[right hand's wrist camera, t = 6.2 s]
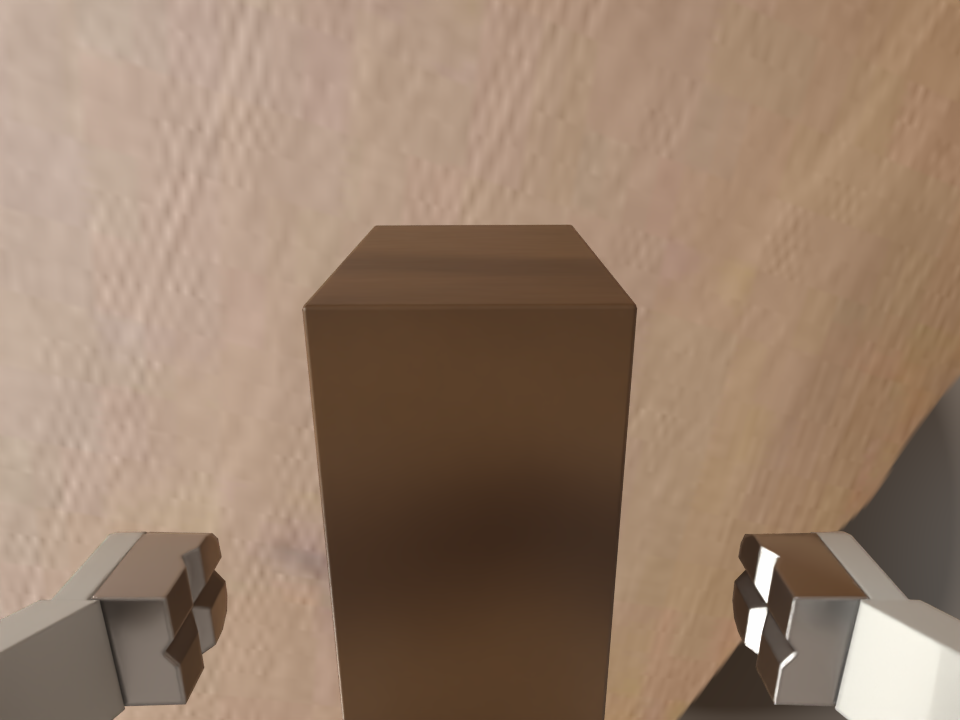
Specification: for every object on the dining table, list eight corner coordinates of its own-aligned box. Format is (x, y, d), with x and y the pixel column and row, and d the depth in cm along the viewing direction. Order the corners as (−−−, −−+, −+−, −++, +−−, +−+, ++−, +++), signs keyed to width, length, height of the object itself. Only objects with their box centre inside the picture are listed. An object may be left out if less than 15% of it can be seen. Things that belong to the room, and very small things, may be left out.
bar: (373, 225, 18) (300, 305, 11) (573, 224, 18) (638, 304, 11) (407, 811, 26) (379, 1097, 19) (547, 811, 26) (574, 1096, 19)
